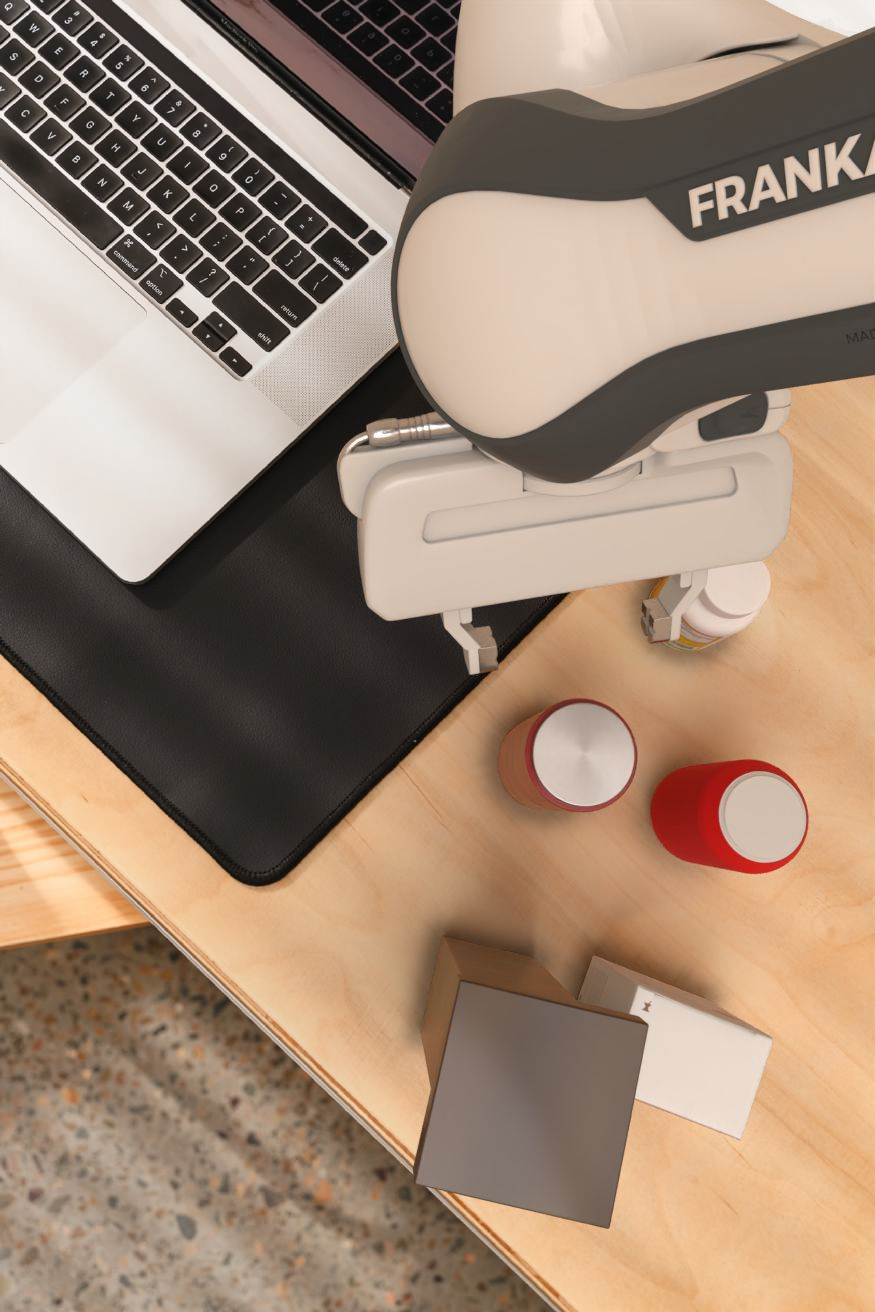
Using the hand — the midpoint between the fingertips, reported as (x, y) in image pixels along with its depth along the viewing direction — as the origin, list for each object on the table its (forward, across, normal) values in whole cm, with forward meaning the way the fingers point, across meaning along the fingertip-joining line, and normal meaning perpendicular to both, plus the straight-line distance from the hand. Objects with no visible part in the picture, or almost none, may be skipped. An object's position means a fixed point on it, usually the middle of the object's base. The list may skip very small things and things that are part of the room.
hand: (571, 650), depth 50 cm
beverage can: (+17, +9, +3) cm, 20 cm away
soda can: (+14, 0, +6) cm, 15 cm away
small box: (+26, +3, -5) cm, 26 cm away
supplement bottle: (+8, +11, +12) cm, 18 cm away
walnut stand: (+23, -7, -3) cm, 24 cm away
